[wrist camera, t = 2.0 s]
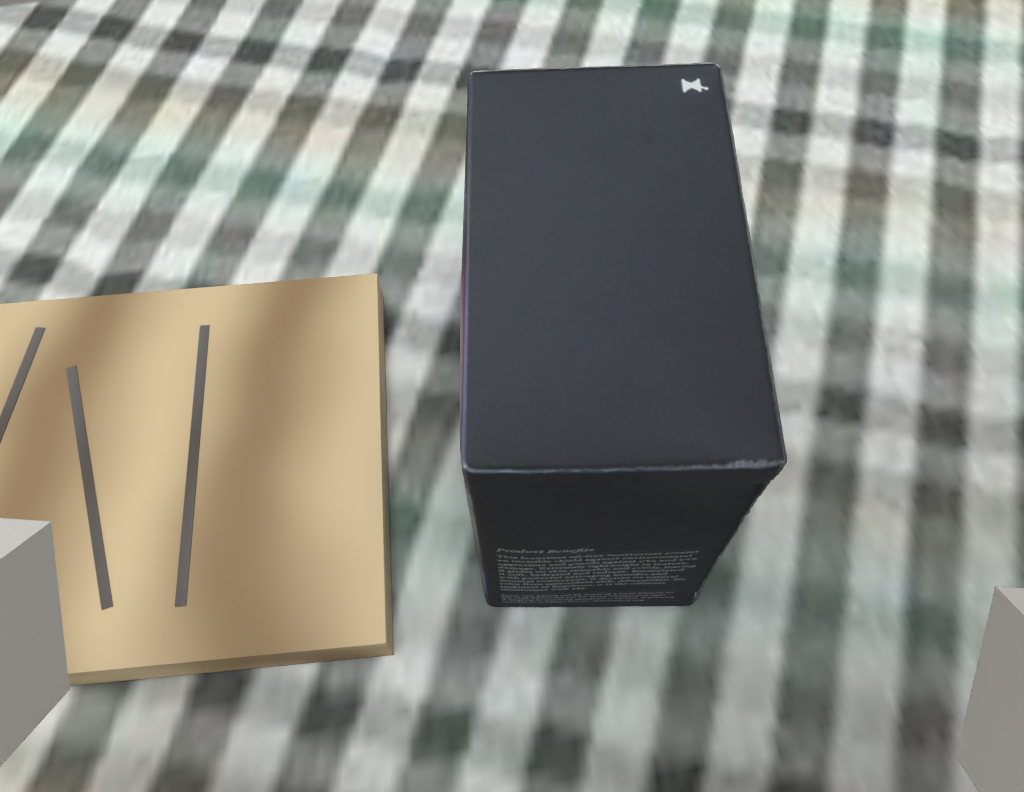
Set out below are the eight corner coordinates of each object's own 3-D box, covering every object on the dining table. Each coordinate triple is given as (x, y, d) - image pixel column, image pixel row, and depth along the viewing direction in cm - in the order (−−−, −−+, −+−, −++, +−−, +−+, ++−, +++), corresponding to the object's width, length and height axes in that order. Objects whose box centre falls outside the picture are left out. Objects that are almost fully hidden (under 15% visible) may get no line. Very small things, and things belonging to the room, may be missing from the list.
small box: (476, 304, 30) (456, 55, 21) (666, 301, 30) (732, 51, 21) (473, 612, 25) (445, 468, 16) (701, 609, 25) (809, 462, 16)
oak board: (383, 299, 30) (376, 272, 28) (393, 654, 24) (385, 642, 23) (-182, 345, 29) (-217, 320, 28) (-307, 722, 24) (-357, 713, 22)
